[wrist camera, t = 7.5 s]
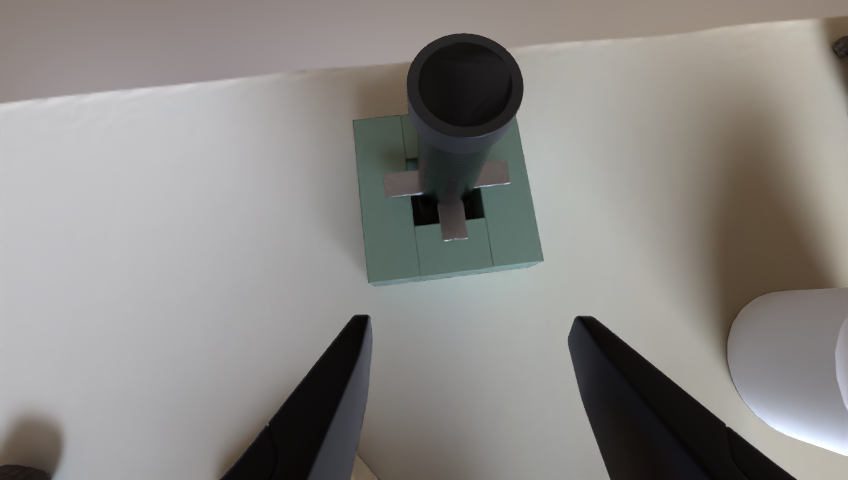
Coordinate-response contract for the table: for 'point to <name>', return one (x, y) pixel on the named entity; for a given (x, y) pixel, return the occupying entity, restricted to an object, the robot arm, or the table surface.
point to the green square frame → (422, 245)
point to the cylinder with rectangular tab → (795, 363)
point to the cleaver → (22, 473)
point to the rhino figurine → (842, 46)
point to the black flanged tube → (457, 126)
